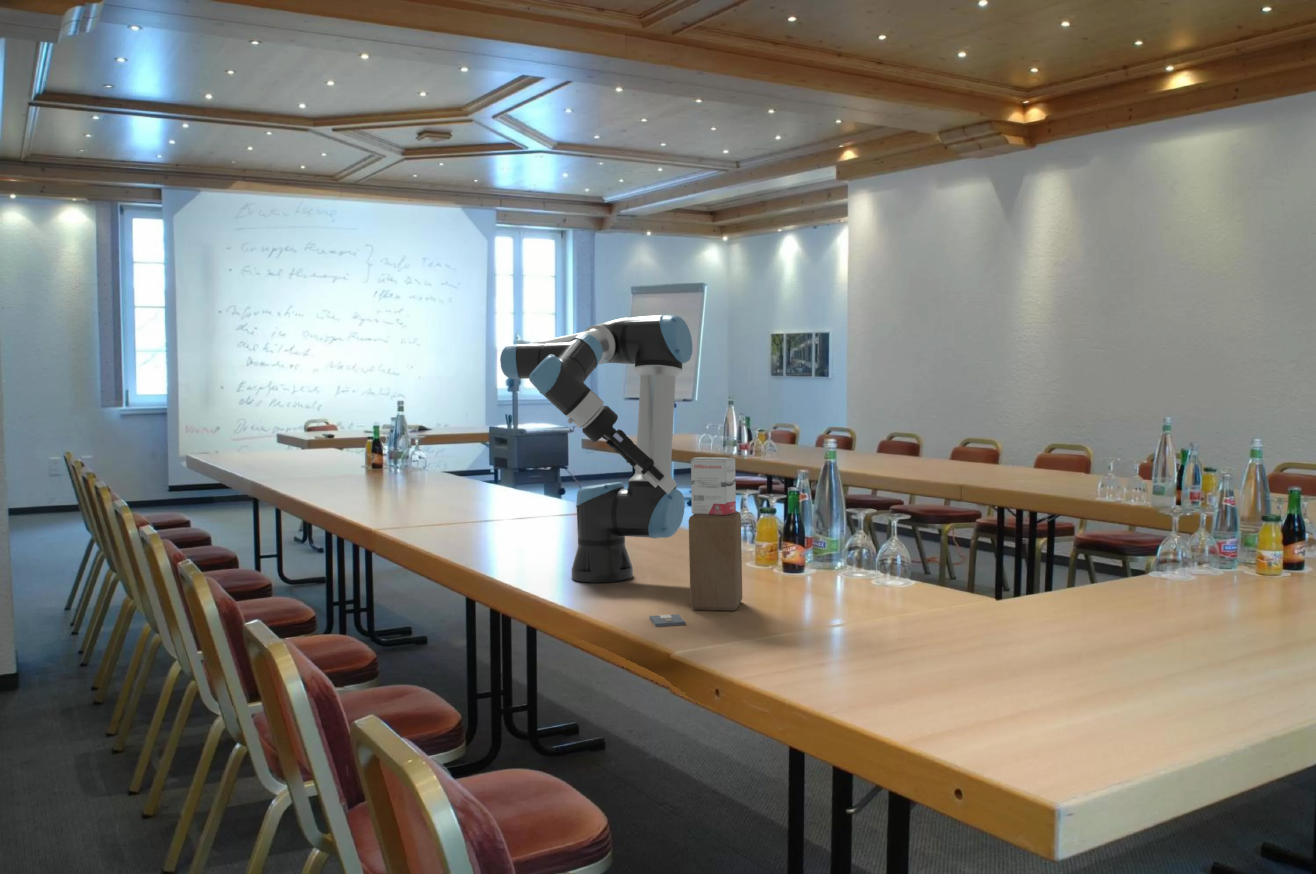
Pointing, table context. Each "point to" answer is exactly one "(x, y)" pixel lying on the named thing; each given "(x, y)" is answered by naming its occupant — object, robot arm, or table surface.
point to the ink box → (713, 485)
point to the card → (667, 620)
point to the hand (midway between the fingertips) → (665, 486)
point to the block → (715, 561)
